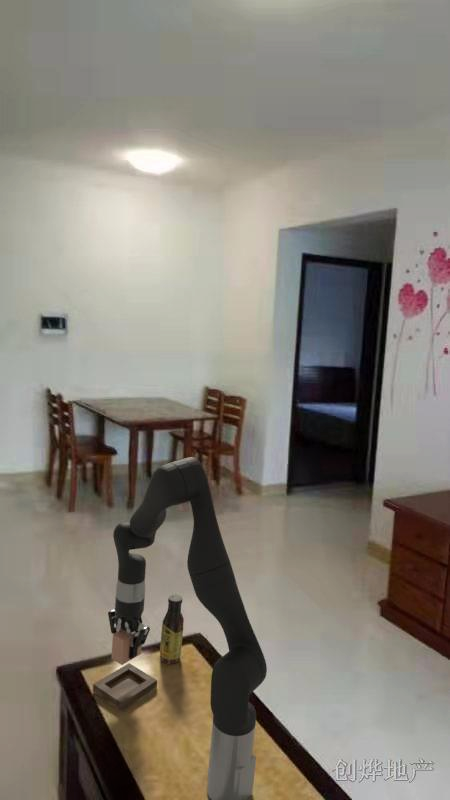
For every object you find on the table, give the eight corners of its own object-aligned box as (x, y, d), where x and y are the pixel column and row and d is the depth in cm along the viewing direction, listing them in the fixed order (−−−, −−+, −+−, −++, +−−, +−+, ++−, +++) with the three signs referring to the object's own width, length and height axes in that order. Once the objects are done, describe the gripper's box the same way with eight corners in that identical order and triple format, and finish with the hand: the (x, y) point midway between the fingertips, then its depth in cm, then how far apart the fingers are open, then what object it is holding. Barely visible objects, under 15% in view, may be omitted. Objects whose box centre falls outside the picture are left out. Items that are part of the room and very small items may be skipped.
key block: (121, 665, 158) (123, 640, 157) (111, 658, 161) (112, 634, 159) (141, 653, 164) (142, 630, 163) (130, 647, 166) (132, 624, 165)
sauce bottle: (156, 654, 181) (160, 592, 178) (176, 651, 184) (180, 590, 180) (163, 667, 175) (168, 603, 172) (184, 663, 178) (188, 600, 174)
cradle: (156, 688, 166) (157, 680, 165) (121, 711, 156) (121, 703, 155) (128, 671, 172) (129, 663, 172) (92, 692, 162) (93, 683, 162)
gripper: (101, 589, 160) (97, 648, 163) (139, 609, 152) (135, 671, 155) (122, 580, 166) (118, 637, 169) (160, 599, 158) (155, 659, 161)
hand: (126, 653), depth 162 cm, fingers closed on key block, 4 cm apart
